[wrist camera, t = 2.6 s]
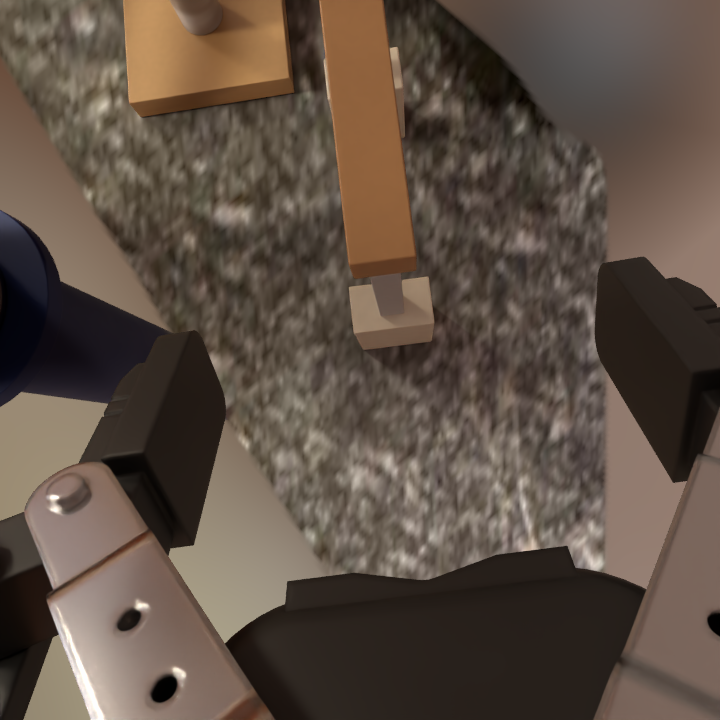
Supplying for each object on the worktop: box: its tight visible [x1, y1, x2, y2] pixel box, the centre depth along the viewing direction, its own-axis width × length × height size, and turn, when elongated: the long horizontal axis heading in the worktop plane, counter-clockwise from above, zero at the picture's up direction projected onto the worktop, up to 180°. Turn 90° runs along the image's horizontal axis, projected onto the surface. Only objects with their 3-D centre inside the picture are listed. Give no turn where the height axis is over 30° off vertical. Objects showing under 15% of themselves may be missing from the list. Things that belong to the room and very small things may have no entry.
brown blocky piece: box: [319, 0, 435, 350], centre depth 29 cm, size 4×15×14 cm, turn 6°
